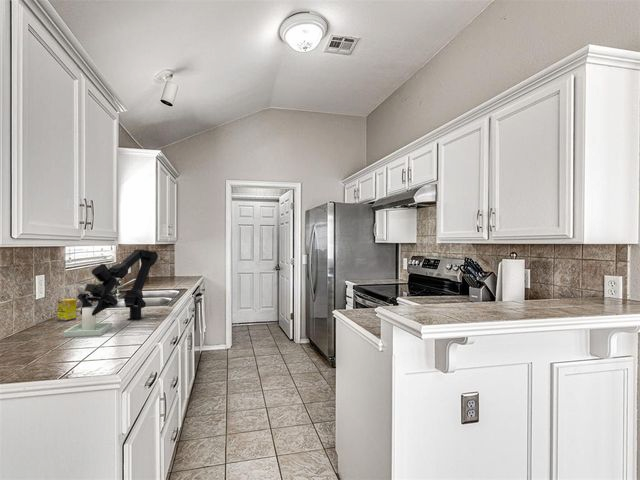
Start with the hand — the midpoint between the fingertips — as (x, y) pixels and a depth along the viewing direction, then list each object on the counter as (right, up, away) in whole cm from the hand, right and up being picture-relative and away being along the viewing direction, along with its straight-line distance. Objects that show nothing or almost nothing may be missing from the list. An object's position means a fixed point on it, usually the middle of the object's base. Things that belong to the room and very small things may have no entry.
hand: (86, 314), depth 166 cm
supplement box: (-27, -8, +25) cm, 38 cm away
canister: (0, -8, +1) cm, 8 cm away
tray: (0, -8, +1) cm, 9 cm away
